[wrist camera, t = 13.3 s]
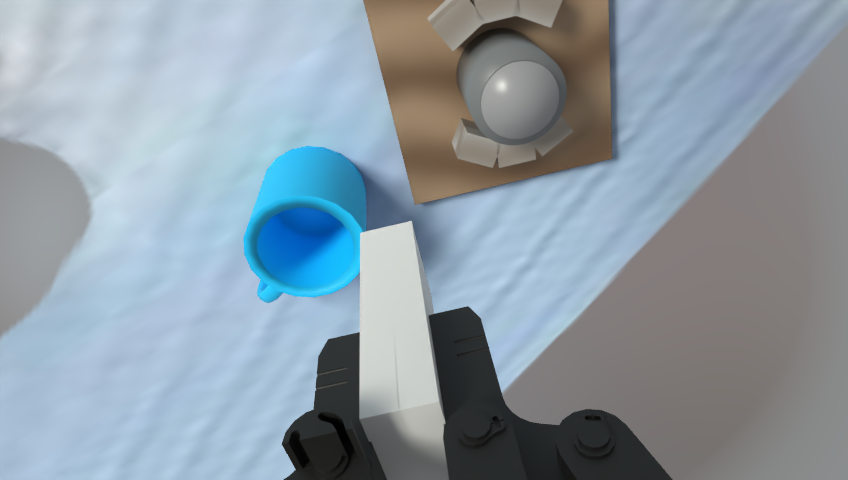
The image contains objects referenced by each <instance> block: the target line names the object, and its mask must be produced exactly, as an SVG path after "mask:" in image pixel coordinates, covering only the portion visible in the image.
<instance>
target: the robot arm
mask: <svg viewBox="0 0 848 480" xmlns="http://www.w3.org/2000/svg"><path fill="white" fill-rule="evenodd" d="M317 375H318V377H317V379H316V391H315V400H314V410H311V411H309V412H306V413H305V414H303V415H302V416H301V417H299V418H298V419H297V420H295V421H294V422H293V424H292V425H291V426H290V427H289V429H288V430H287V431H286V433H285V436H284V439H283V442H282V445H283V447H284V449H285V451H286V453H287V454H288V456H289V458H290V460H291V461H292V463H293V465H294V467H295V469H296V470H295V471H294V472H293V473H292V474H291V475H290V476H288V477H287V478H285V479H284V480H672V479H671V477H670V476H669V475H668V474H667V473H666V472H665V470H664V469H663V468H662V467H661V465H660V464H659V463H658V462H657V461H656V460H655V458H654V457H653V456H652V455H651V454H650V453H649V451H648V450H647V449H646V448H645V447H644V445H643V444H642V443H641V442H640V441H639V439H638V438H637V437H636V436H635V435H634V434H633V432H632V431H631V430H630V429H629V428H628V426H627V425H626V424H625V423H623V422H622V421H621V420H620V419H618V418H617V417H616V416H615V415H612V414H610V413H607V412H605V411H602V410H591V409H586V410H581V411H578V412H574V413H572V414H571V415H569V416H568V417H566V418H565V419H564V420H562V422H561V424H560V425H550V424H539V423H533V422H529V421H526V420H524V419H521V418H520V417H518V416H517V415H515V414H514V413H512V412H511V410H510V409H509V408H508V407H507V406H506V404H505V402H504V399H503V397H502V393H501V390H500V386H499V382H498V379H497V375H496V372H495V368H494V365H493V361H492V357H491V354H490V351H489V347H488V343H487V340H486V336H485V332H484V329H483V325H482V322H481V318H480V317H479V316H478V315H477V314H476V313H475V312H474V311H473V310H472V309H470V308H469V307H463V308H459V309H454V310H450V311H445V312H441V313H437V314H434V310H433V304H432V298H431V293H430V289H429V286H428V282H427V278H426V274H425V270H424V266H423V263H422V259H421V255H420V251H419V247H418V243H417V240H416V236H415V232H414V228H413V224H412V221H409V222H404V223H400V224H396V225H391V226H387V227H383V228H378V229H374V230H370V231H366V232H361V233H360V332H359V333H354V334H350V335H345V336H341V337H337V338H332V339H328V341H327V342H326V344H325V346H324V348H323V349H322V351H321V353H320V355H319V358H318V368H317Z"/></svg>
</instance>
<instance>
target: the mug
mask: <svg viewBox="0 0 848 480" xmlns="http://www.w3.org/2000/svg"><path fill="white" fill-rule="evenodd" d="M361 232H366V189H365V186H364V182H363V178H362V176H361V174H360V173H359V171H358V170H357V168H356V167H355V166H354V164H353V163H352V162H350V161H349V160H348V159H347V158H345V157H344V156H343V155H341V154H340V153H337V152H335V151H332V150H329V149H327V148H324V147H311V146H306V147H301V148H297V149H292V150H290V151H288V152H286V153H285V154H283V155H281V156H279V157H278V158H277V159H276V160H275V161H274V162H273V163H272V164H271V166H270V167H269V168H268V169H267V172H266V175H265V177H264V180H263V183H262V186H261V189H260V192H259V195H258V198H257V201H256V203H255V206H254V209H253V212H252V215H251V218H250V221H249V224H248V227H247V230H246V232H245V235H244V254H245V256H246V259H247V261H248V263H249V265H250V268H251V270H252V271H253V272H254V273H255V274H256V275H257V276H258V277H259V278H260V279H261V280H260V283H259V286H258V292H257V294H258V296H259V298H260V299H261V300H262V301H264V302H267V303H270V302H273V301H274V300H276V299H278V298H279V297H280V296H281V294H282V293H286V294H290V295H293V296H300V297H317V296H322V295H326V294H331V293H333V292H335V291H337V290H339V289H341V288H343V287H345V286H347V285H348V284H349V283H350V282H351V281H352V280H353V279H354V278H355V277H356V276H357V275H358V274H359V272H360V233H361Z"/></svg>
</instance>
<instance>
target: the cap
mask: <svg viewBox="0 0 848 480" xmlns="http://www.w3.org/2000/svg"><path fill="white" fill-rule="evenodd" d="M456 79H457V85H458V89H459V91H460V93H461V95H462V97H463V99H464V101H465V103H466V106H467V108H468V110H469V112H470V114H471V116H472V118H473V120H474V122H475V124H476V125H477V127H478V128H479V130H480V131H481V132H482V133H483V134H484V135H485V136H486V137H488V138H489V139H491V140H493V141H495V142H497V143H500V144H504V145H521V144H526V143H529V142H532V141H534V140H536V139H538V138H540V137H541V136H543V135H544V134H545V133H547V132H548V131H549V130H550V129H551V128H552V127H553V126H554V125H555V123H556V122H557V121H558V119H559V117H560V116H561V114H562V112H563V109H564V106H565V102H566V96H567V87H566V81H565V77H564V75H563V72H562V70H561V69H560V67H559V66H558V65H557V63H556V62H555V61H554V60H553V59H552V58H550V57H549V56H548V55H547V54H546V53H545V52H544V51H542V50H541V49H540V48H539V47H538V46H537V45H536V44H534V43H533V42H532V41H531V40H530V39H529V38H528V37H526V36H525V35H524V34H522V33H520V32H519V31H516V30H513V29H509V28H496V29H491V30H488V31H485V32H483V33H481V34H480V35H478V36H477V37H475V38H474V39H473V40H472V41H471V42H470V43H469V44H468V45H467V46H466V48H465V49H464V50H463V52H462V54H461V56H460V58H459V61H458V65H457V71H456Z"/></svg>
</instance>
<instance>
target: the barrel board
mask: <svg viewBox="0 0 848 480" xmlns="http://www.w3.org/2000/svg"><path fill="white" fill-rule="evenodd" d="M363 1H364V5H365V9H366V13H367V17H368V21H369V25H370V29H371V33H372V36H373V40H374V44H375V48H376V52H377V56H378V60H379V64H380V68H381V72H382V76H383V80H384V84H385V88H386V92H387V96H388V100H389V104H390V108H391V112H392V116H393V120H394V124H395V128H396V132H397V136H398V139H399V143H400V147H401V151H402V155H403V159H404V163H405V167H406V171H407V175H408V179H409V183H410V187H411V191H412V195H413V199H414V203H415V205H416V204H420V203H424V202H428V201H433V200H437V199H441V198H446V197H450V196H454V195H459V194H463V193H467V192H471V191H476V190H480V189H484V188H489V187H493V186H497V185H501V184H506V183H510V182H514V181H519V180H523V179H527V178H531V177H536V176H540V175H544V174H549V173H553V172H557V171H561V170H566V169H570V168H574V167H579V166H583V165H587V164H591V163H596V162H600V161H604V160H609V159H612V132H611V90H610V48H609V6H608V0H363ZM496 28H509V29H513V30H516V31H519V32H520V33H522V34H524V35H525V36H526V37H528V38H529V39H530V40H531V41H532V42H533V43H534V44H536V45H537V46H538V47H539V48H540V49H541V50H542V51H544V52H545V53H546V54H547V55H548V56H549V57H550V58H552V59H553V60H554V61H555V62H556V63H557V65H558V66H559V67H560V69H561V70H562V72H563V75H564V77H565V81H566V87H567V96H566V102H565V106H564V109H563V112H562V114H561V116H560V117H559V119H558V121H557V122H556V123H555V125H554V126H553V127H552V128H551V129H550V130H549V131H548V132H547V133H545V134H544V135H543V136H541V137H540V138H538V139H536V140H534V141H532V142H529V143H526V144H521V145H504V144H500V143H497V142H495V141H493V140H491V139H489V138H488V137H486V136H485V135H484V134H483V133H482V132H481V131H480V130H479V128H478V127H477V125H476V124H475V122H474V120H473V118H472V116H471V114H470V112H469V110H468V108H467V106H466V103H465V101H464V99H463V97H462V95H461V93H460V91H459V89H458V85H457V79H456V71H457V65H458V61H459V58H460V56H461V54H462V52H463V50H464V49H465V48H466V46H467V45H468V44H469V43H470V42H471V41H472V40H473V39H474V38H475V37H477V36H478V35H480V34H481V33H483V32H485V31H488V30H491V29H496Z"/></svg>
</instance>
